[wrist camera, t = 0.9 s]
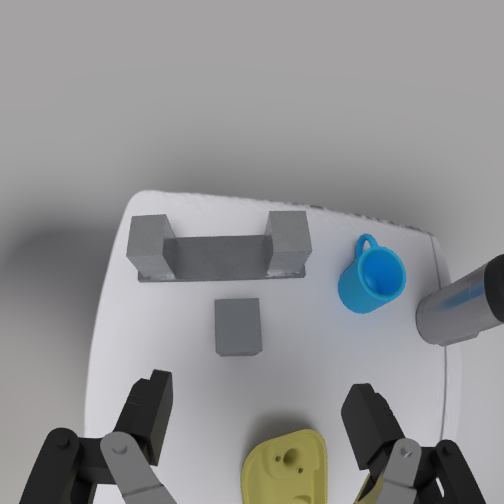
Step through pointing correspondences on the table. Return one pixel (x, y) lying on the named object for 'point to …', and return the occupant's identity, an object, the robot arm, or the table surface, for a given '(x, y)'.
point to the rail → (219, 251)
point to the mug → (371, 278)
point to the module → (237, 327)
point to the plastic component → (286, 470)
